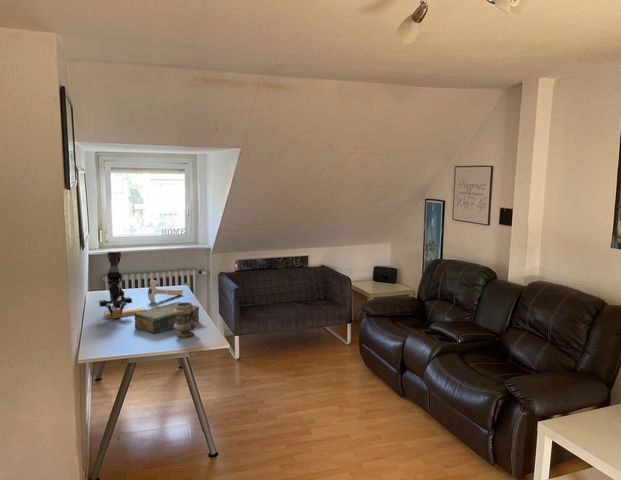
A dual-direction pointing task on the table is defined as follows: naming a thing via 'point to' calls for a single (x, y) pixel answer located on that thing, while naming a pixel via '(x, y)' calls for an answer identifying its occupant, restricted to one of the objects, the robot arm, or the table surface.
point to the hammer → (161, 291)
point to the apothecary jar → (184, 319)
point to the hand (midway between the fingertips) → (116, 315)
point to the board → (125, 312)
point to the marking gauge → (116, 313)
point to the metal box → (159, 318)
